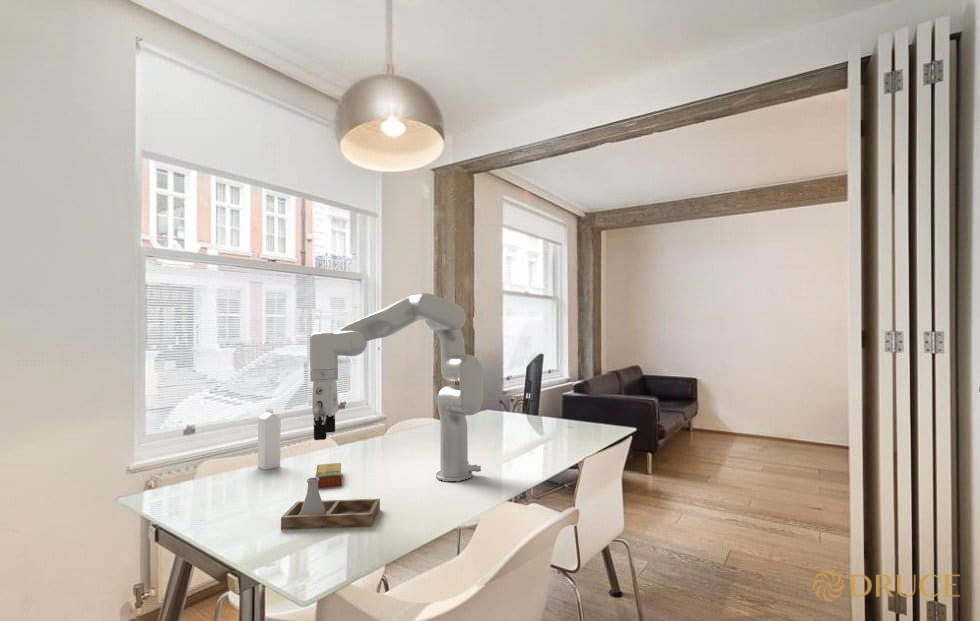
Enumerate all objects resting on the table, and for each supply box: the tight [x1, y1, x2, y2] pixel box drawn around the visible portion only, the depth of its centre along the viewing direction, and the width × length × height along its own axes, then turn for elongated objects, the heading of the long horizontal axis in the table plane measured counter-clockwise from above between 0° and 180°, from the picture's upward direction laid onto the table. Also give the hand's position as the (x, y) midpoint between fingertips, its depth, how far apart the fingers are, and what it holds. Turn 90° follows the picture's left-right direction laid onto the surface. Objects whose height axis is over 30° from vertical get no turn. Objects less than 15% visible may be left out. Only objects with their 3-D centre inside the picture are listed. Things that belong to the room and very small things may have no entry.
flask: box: [300, 476, 326, 515], centre depth 130 cm, size 7×7×10 cm
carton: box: [315, 462, 342, 489], centre depth 165 cm, size 8×16×4 cm, turn 18°
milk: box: [257, 408, 282, 471], centre depth 184 cm, size 6×6×22 cm
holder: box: [280, 498, 381, 530], centre depth 129 cm, size 23×12×3 cm, turn 93°
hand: (324, 435), depth 136 cm, fingers open, 9 cm apart
